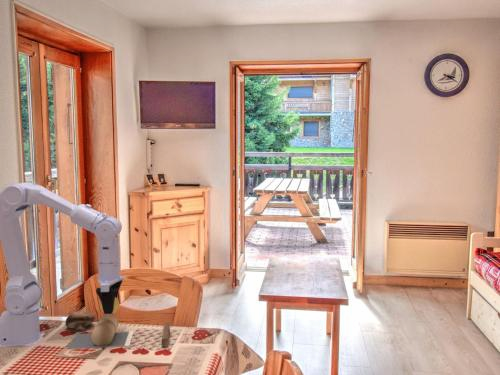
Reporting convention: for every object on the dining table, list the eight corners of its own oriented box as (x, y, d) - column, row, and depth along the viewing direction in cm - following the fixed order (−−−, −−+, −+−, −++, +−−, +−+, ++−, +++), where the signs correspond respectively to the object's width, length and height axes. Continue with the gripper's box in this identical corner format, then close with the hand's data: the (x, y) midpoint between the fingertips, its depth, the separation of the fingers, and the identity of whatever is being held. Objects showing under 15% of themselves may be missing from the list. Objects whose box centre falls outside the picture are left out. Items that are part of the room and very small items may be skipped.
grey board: (66, 351, 119) (66, 348, 119) (76, 336, 129) (76, 333, 129) (129, 347, 121) (129, 345, 121) (133, 333, 131) (133, 331, 131)
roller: (91, 346, 121) (91, 326, 120) (98, 333, 129) (97, 314, 129) (113, 345, 121) (112, 325, 121) (118, 332, 130) (118, 313, 130)
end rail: (161, 347, 122) (161, 339, 121) (164, 330, 133) (164, 322, 133) (167, 347, 122) (167, 338, 122) (169, 330, 134) (169, 322, 133)
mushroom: (86, 326, 128) (83, 305, 131) (61, 336, 129) (58, 315, 132) (100, 329, 135) (97, 309, 138) (76, 339, 136) (74, 319, 139)
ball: (99, 317, 122) (98, 299, 122) (102, 311, 127) (102, 293, 127) (118, 316, 123) (117, 298, 123) (120, 310, 128) (120, 293, 128)
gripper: (120, 267, 117) (121, 318, 118) (127, 255, 132) (128, 301, 133) (91, 268, 116) (93, 319, 117) (102, 256, 131) (103, 302, 132)
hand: (110, 310), depth 125 cm, fingers closed on ball, 5 cm apart
